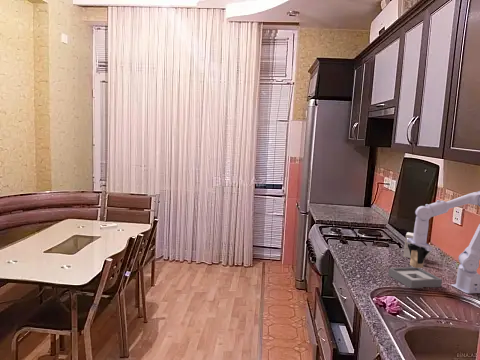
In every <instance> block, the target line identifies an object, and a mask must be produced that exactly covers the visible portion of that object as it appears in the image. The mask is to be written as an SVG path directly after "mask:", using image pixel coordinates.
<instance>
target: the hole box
mask: <svg viewBox="0 0 480 360" xmlns="http://www.w3.org/2000/svg"><path fill="white" fill-rule="evenodd" d="M387 275H388V276H389V277H391V278H392V279H394V280H395V281H397V282H400V283H401V284H403V285H405V286H407V287H408V288H409V287H410V288H409V289H423V287H430V288H442V285H443V284H442V283H443V279H442V278H440V277H438V276H436V275H434V274H432V273H431V272H428V271H426V270H424V269H422V268H415V267H413V266H410V267H389V268H388V274H387Z"/></svg>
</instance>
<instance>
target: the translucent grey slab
mask: <svg viewBox="0 0 480 360" xmlns="http://www.w3.org/2000/svg"><path fill="white" fill-rule="evenodd" d="M430 255H432V251H430V252H429V253H428V254H427V255H426V257H425V259H428V258H429V257H430ZM424 265H425V263H424V264H423V266H424Z"/></svg>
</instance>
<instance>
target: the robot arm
mask: <svg viewBox="0 0 480 360" xmlns="http://www.w3.org/2000/svg"><path fill="white" fill-rule="evenodd" d="M469 204H470V205H475V206H478V207H480V190H478V191H474V192H470V193H467V194H465V195H462V196H459V197H455V198H453V199H450V200H447V201H446V200H440V199H437V200H436V201H435V202H432V203H429V204H428V203H426V204H425V205H420V206H418V207H417V208H415V211H414V214H415V222H414V227H413V233H414V234H413V239H412V238H407V242H409V243H410V244H408V248H409V251H410V256H411V251H412V250H417V252H418V264H422V263H423V261H424V262H425V259H426V258H425V257H426V255H427V254H428V253H429V252H430V251H431V252H432V251H433V246H432V245H430V244H429V243H427V238H428V233H429V232H428V231H429V225H430V223H429V222H430V221H429V220H430V219H431V218H433V217H437V216H440V215H443V214H447V213H448V211H449V210H450V209H453V208H458V207H461V206H465V205H469ZM458 262H459V265H458V266H457V267H458V268H457V273H456V274H457V275H456V280H455V281H456V282H455V283H453V284H452V283H451V284H450V286H451V287H453V288H456V289H458V290H459V291H462V292H463V293H465V294H468V295H469V294H480V274H479V273H478V271H477V270H478V269H479V267H480V223H479V224H478V226H477V227H476V230H475V232H474V234H473V236H472V238H471V240H470V242H469V244H468V246H467V247H466V248H464V250H463V251H462V252H461V253H460V254H459V255H458Z"/></svg>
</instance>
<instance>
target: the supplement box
mask: <svg viewBox="0 0 480 360" xmlns="http://www.w3.org/2000/svg"><path fill="white" fill-rule="evenodd" d="M413 234H414V232H409V231H408V232H406V234H405V239H404V240H405V241H404V247H403V253H402V254H403V257H404V258H408V259H411V256H410V251H409V248H408V244H410V243H409V242H407V238H412V239H413Z"/></svg>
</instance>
